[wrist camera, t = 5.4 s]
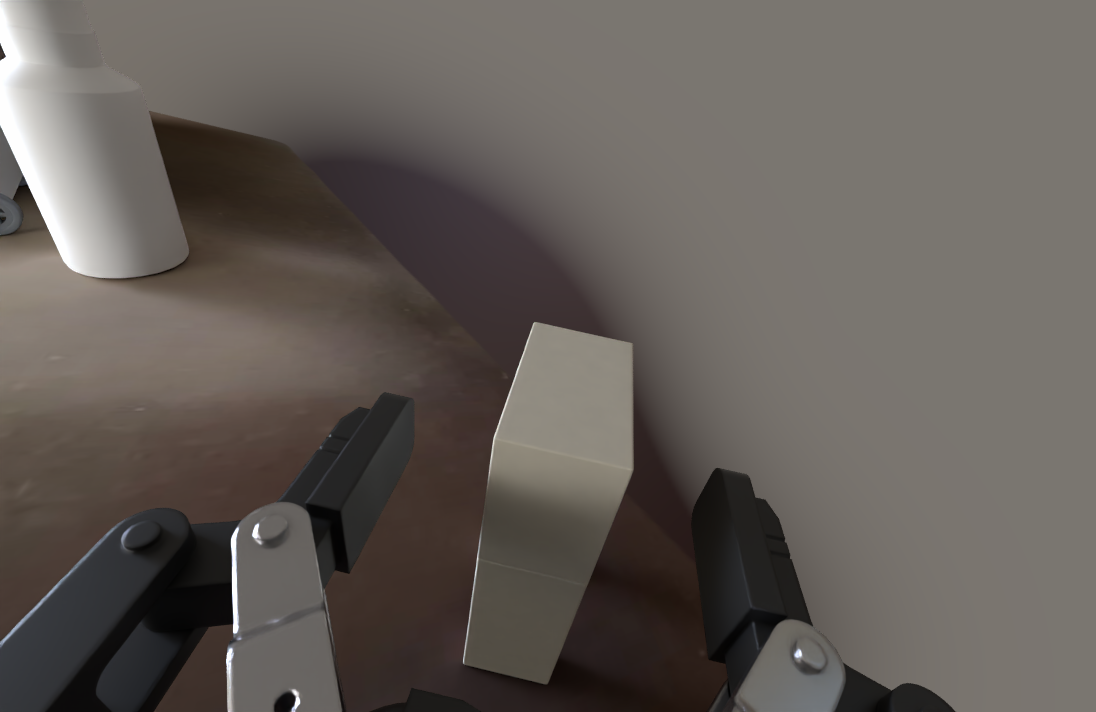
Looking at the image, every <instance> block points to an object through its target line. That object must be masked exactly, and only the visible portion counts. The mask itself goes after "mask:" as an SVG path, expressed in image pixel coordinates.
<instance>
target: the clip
mask: <svg viewBox="0 0 1096 712" xmlns="http://www.w3.org/2000/svg"><path fill="white" fill-rule="evenodd" d="M633 438H634V437H633V344H632V343H628V342H623V341H619V340H614V339H610V338H605V337H601V336H596V335H591V334H587V333H583V332H578V331H574V330H569V329H565V328H560V327H556V326H551V325H546V324H542V323H537V322H535V323H534V324H533V327H532V330H531V332H530V335H529V338H528V341H527V344H526V347H525V350H524V352H523V355H522V358H521V361H520V364H519V367H518V370H517V373H516V375H515V378H514V381H513V384H512V387H511V390H510V393H509V395H508V398H507V401H506V404H505V407H504V410H503V413H502V416H501V418H500V421H499V424H498V427H497V430H496V433H495V436H494V439H493V446H492V454H491V461H490V468H489V475H488V483H487V490H486V497H485V505H484V512H483V519H482V526H481V534H480V541H479V548H478V556H477V564H476V571H475V578H474V585H473V593H472V600H471V607H470V615H469V622H468V629H467V636H466V644H465V651H464V658H463V664H464V665H468V666H472V667H476V668H480V669H484V670H488V671H492V672H497V673H501V674H505V675H509V676H513V677H517V678H521V679H525V680H529V681H534V682H538V683H542V684H548V682H549V680H550V677H551V675H552V672H553V670H554V667H555V665H556V662H557V660H558V657H559V655H560V652H561V650H562V647H563V645H564V642H565V640H566V637H567V635H568V632H569V630H570V627H571V625H572V622H573V620H574V617H575V615H576V612H577V610H578V607H579V605H580V602H581V600H582V597H583V595H584V592H585V590H586V587H587V585H588V583H589V581H590V578H591V576H592V573H593V571H594V568H595V566H596V563H597V561H598V558H599V556H600V553H601V551H602V548H603V546H604V543H605V541H606V538H607V536H608V533H609V531H610V528H611V526H612V523H613V521H614V518H615V516H616V513H617V511H618V508H619V506H620V503H621V501H622V498H623V496H624V493H625V491H626V488H627V486H628V483H629V481H630V478H631V476H632V473H633V471H634V451H633V450H634V446H633V445H634V442H633V441H634V440H633Z"/></svg>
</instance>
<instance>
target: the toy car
mask: <svg viewBox="0 0 1096 712" xmlns="http://www.w3.org/2000/svg"><path fill="white" fill-rule="evenodd" d="M24 185H28V183H27V181H26V179H25V177H24V175H23V173H22V171H21V168H20V166H19V164H18V162H17V160H16V158H15V155H14V153H13V151H12V149H11V147H10V145H9V143H8V140H7V138H6V136H5V134H4V132H3V130H2V127H1V125H0V235H6V234H10V233H12V232H14V231H16V230H17V229H18V228H19V227H20V226H21V224H22V221H23V212H22V210H21V208H20V207H19V205H18V204H17V203H16V202H15V201H14V200H13V197H14V195H15V193H16V190H17V188H18V186H24ZM3 217H7V218H6V219H5V220H2V219H1V218H3Z"/></svg>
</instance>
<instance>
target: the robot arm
mask: <svg viewBox="0 0 1096 712" xmlns="http://www.w3.org/2000/svg"><path fill="white" fill-rule="evenodd" d="M413 445H414V400H413V399H412V398H408V397H404V396H400V395H395V394H391V393H386V392H385V393H383V394H382V395H381V396H380V397H379V398H378V400H377V401H376V403H375V404H374V406H373V407H372V408H371V410H370V409H365V408H361V407H358V408H357V409H355V410H354V411H352V412H351V413H349V414H348V415H346V416H344V417H343V418H341V419H340V421H339V422H338V423H337V425H336V426H335V427H334V429H333V430H332V431H331V433H330V434H329V437H327V438H326V439H325V440H324V442H323V443H322V444H321V446H320V449H319V450H317V451H316V452H315V453H314V455H313V456H312V457H311V459H310V460H309V461H308V463H307V464H306V465H305V467H304V468H303V469H302V470H301V472H300V473H299V474H298V476H297V477H296V478H295V480H294V481H293V482H292V483H291V485H290V486H289V487H288V489H287V490H286V491H285V493H284V494H283V495H282V496H281V498H280V499H279V500H278V501H277V502H276V503H273V504H269V505H266V506H263V507H261V508H258V509H256V510H255V511H253V512H251V513H250V514H249V515H247V516H246V517H245V518H244V519H243V520H239V521H232V522H219V523H204V524H190V523H189V521H188V519H187V517H186V516H185V515H184V514H183V513H182V512H180V511H178V510H175V509H171V508H156V509H150V510H147V511H143V512H140V513H137V514H135V515H133V516H131V517H128V518H127V519H125V520H123V521H122V522H120V523H119V524H117V525H116V526H114V527H113V528H112V529H111V530H110V531H109V532H108V533H107V534H106V535H105V536H104V537H103V538H102V539H101V540H100V541H99V542H98V543H97V544H96V545H95V546H94V547H93V548H92V549H91V550H90V551H89V552H88V553H87V554H86V555H85V556H84V557H83V558H82V559H81V560H80V561H79V562H78V563H77V564H76V565H75V566H74V567H73V568H72V569H71V570H70V571H69V572H68V573H67V574H66V575H65V576H64V577H63V579H62V580H61V581H60V582H59V583H58V584H57V585H56V586H55V587H54V588H53V589H52V590H51V591H50V592H49V593H48V594H47V595H46V596H45V597H44V598H43V599H42V600H41V601H40V602H39V603H38V604H37V605H36V606H35V607H34V608H33V609H32V610H31V611H30V612H29V613H28V614H27V615H26V616H25V617H24V618H23V619H22V620H21V621H20V622H19V623H18V624H17V625H16V626H15V627H14V628H13V629H12V630H11V631H10V633H9V634H8V635H7V636H6V637H5V638H4V639H3V640H2V641H1V642H0V712H154V710H155V709H156V707H157V705H158V704H159V702H160V701H161V699H162V698H163V696H164V695H165V693H166V692H167V690H168V689H169V687H170V686H171V684H172V683H173V681H174V679H175V678H176V676H177V675H178V673H179V672H180V670H181V669H182V667H183V666H184V664H185V663H186V661H187V660H188V658H189V657H190V655H191V653H192V652H193V650H194V649H195V647H196V646H197V644H198V643H199V641H200V640H201V638H202V637H203V635H204V634H205V632H206V631H207V629H208V627H212V626H220V625H229V624H234V637H233V640H232V641H230V642H229V645H228V651H227V692H228V712H347V711H346V705H345V700H344V694H343V689H342V683H341V678H340V673H339V667H338V662H337V656H336V650H335V645H334V639H333V633H332V627H331V622H330V616H329V610H328V604H327V599H326V593H325V586H326V585H327V583H328V581H329V579H330V578H331V576H332V574H333V572H334V570H336V571H340V572H345V573H350V571H351V569H352V567H353V566H354V564H355V562H356V560H357V558H358V556H359V554H360V552H361V550H362V548H363V547H364V545H365V543H366V541H367V539H368V537H369V535H370V533H371V531H372V530H373V528H374V526H375V524H376V522H377V520H378V518H379V516H380V514H381V512H382V511H383V509H384V507H385V505H386V503H387V501H388V499H389V497H390V495H391V493H392V492H393V490H394V488H395V486H396V484H397V482H398V480H399V478H400V476H401V474H402V473H403V471H404V469H405V467H406V465H407V463H408V461H409V459H410V456H411V453H412V449H413ZM691 525H692V535H693V542H694V550H695V558H696V566H697V574H698V581H699V589H700V597H701V605H702V612H703V620H704V628H705V635H706V643H707V651H708V659H709V660H712V661H716V662H720V663H725V664H726V668H727V674H728V678H727V680H726V681H725V682H724V683H723V685H722V687H721V688H720V690H719V692H718V693H717V695H716V696H715V698H714V700H713V701H712V703H711V705H710V706H709V708H708V709H707V711H706V712H955V711H954V710H953V709H952V707H951V706H949V705H948V704H947V703H946V702H945V701H944V700H943V699H942V698H940V697H939V696H938V695H936V694H935V693H933V692H932V691H930V690H928V689H926V688H924V687H922V686H919V685H916V684H911V683H910V684H909V683H906V684H902V685H900V686H898V687H897V688H895V689H894V690H892V691H891V690H890V689H888V688H886V687H884V686H882V685H881V684H878V683H877V682H875V681H873V680H871V679H870V678H868V677H866V676H865V675H863V674H861V673H859V672H857V671H856V670H854V669H852V668H850V667H849V666H847V665H846V664H844V663H843V662H842V660H841V658H840V656H839V654H838V652H837V650H836V649H835V648H834V646H833V645H832V643H831V642H830V641H829V640H828V639H827V638H826V637H825V636H824V635H823V634H822V633H820V631H818V630H817V629H815V628H814V627H813V625H812V622H811V619H810V616H809V613H808V610H807V607H806V603H805V600H804V597H803V594H802V591H801V588H800V584H799V581H798V578H797V575H796V572H795V569H794V566H793V562H792V560H791V559H790V553H789V549H788V546H787V543H785V537H784V534H783V530H782V527H781V524H780V521H779V518H778V517H777V516H776V514H775V513H774V511H773V510H772V509H771V507H770V506H769V504H768V503H767V502H766V500H764V499H760V498H755V495H754V491H753V487H752V484H751V480H750V478H749V476H748V475H746V474H742V473H738V472H733V471H729V470H725V469H720V468H716V469H715V470H714V471H713V472H712V474H711V476H710V478H709V480H708V482H707V483H706V485H705V487H704V489H703V491H702V493H701V494H700V496H699V498H698V500H697V502H696V504H695V506H694V509H693V513H692V523H691ZM370 712H481V711H479V710H478V709H476V708H474V707H473V706H471V705H469V704H468V703H466V702H465V701H463V700H460V699H455V698H451V697H447V696H443V695H439V694H435V693H430V692H426V691H422V690H418V689H414V688H411V691H410V694H409V697H408V700H407V702H406V703H397V704H392V705H388V706H384V707H381V708H378V709H376V710H373V711H370Z"/></svg>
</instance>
